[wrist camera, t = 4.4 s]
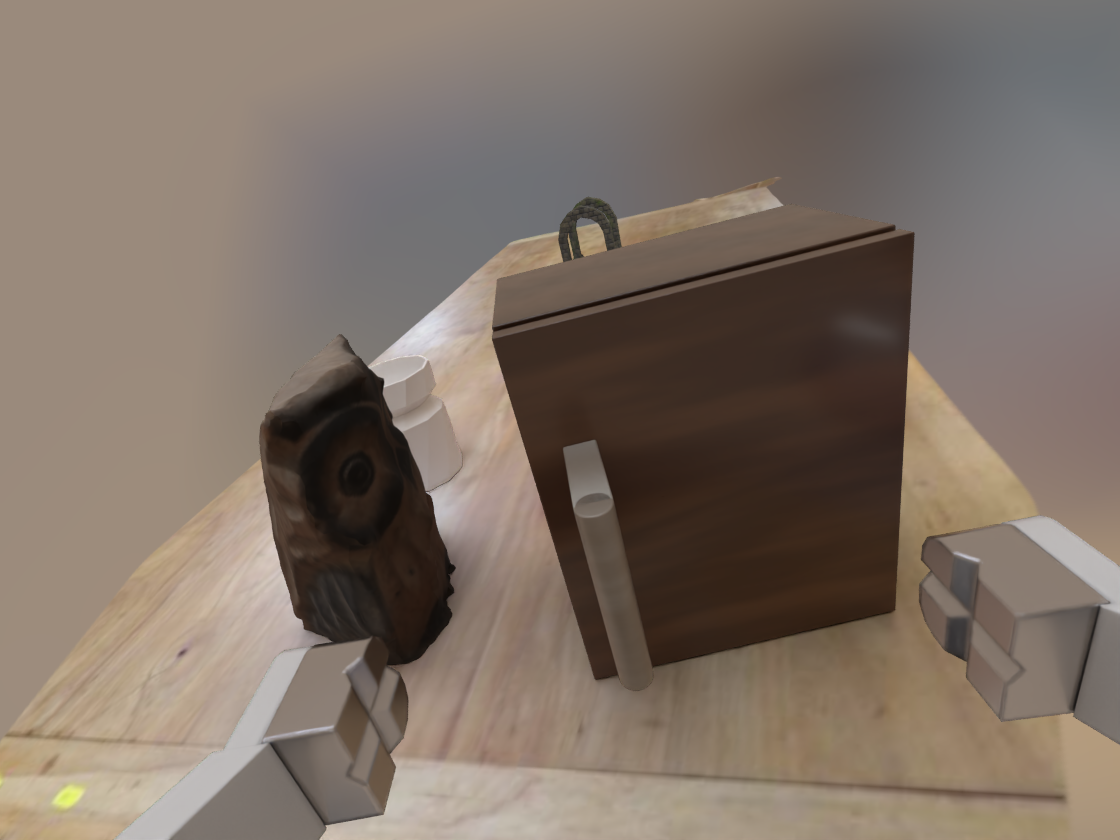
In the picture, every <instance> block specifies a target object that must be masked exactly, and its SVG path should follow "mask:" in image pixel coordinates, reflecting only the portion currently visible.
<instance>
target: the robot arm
mask: <svg viewBox="0 0 1120 840" xmlns="http://www.w3.org/2000/svg"><path fill="white" fill-rule="evenodd" d="M921 560H922V561H923V562H924V563H925V565H926V566H927V567H928V568H929V569H930V572H929V573H928V574H927V575H926V576H925V578H924V579H923V580H922V581H921V582H920V584H919V603H920V606H921V610H922V613H923V616H924V620H925V622H926V624H927V626H928V628H929V629H930V631H931V633H932V635H933V636H934V638H935V639H936V640H937V641H938V643H939V644H940V645H941V647H942V648H943V649H944V650H945V651H947V652H948V653H950V654H952V655H954V656H956V657H958V658H960V659H962V660H964V661H966V662H967V667H966V678H967V680H968V681H969V682H970V683H971V684H972V686H973V687H974V688H975V689H976V691H977V692H978V693H979V694H980V696H981V697H982V698H983V699H984V701H985V702H986V703H987V704H988V706H989V707H990V708H991V709H992V711H993V712H994V713H995V714H996V716H997V717H998V718H999V719H1000V721H1001V722H1003V721H1011V720H1019V719H1028V718H1036V717H1044V716H1052V715H1060V714H1068V713H1074V716H1073V717H1075V718H1076V719H1078V720H1080V721H1081V722H1083V723H1085V724H1086V725H1088V726H1090V727H1091V728H1093V729H1095V730H1096V731H1098V732H1100V733H1101V734H1103V735H1105V736H1106V737H1108V738H1109V739H1111V740H1113V741H1114V742H1116V743H1118V744H1120V566H1119V565H1117V564H1116V563H1114V562H1113V561H1112V560H1110V559H1108V558H1107V557H1106V556H1104V555H1103V554H1102V553H1100V552H1099V551H1098V550H1096V549H1095V548H1093V547H1092V546H1091V545H1089V544H1088V543H1086V542H1085V541H1084V540H1082V539H1081V538H1079V537H1078V536H1076V535H1075V534H1074V533H1072V532H1071V531H1070V530H1068V529H1067V528H1065V527H1064V526H1062V525H1061V524H1059V523H1058V522H1057V521H1056V520H1054V519H1051V518H1049V517H1045V516H1042V515H1039V516H1034V517H1028V518H1023V519H1018V520H1013V521H1008V522H1003V523H1001V524H994V525H989V526H984V527H978V528H973V529H967V530H962V531H957V532H951V533H946V534H941V535H935V536H930V537H927V538H926V540H925V542H924V543H923V545H922V554H921ZM389 654H390V652H389V650H388V648H387V646H386V645H385V643H384V641H383V639H382V638H381V637H376V636H371V637H364V638H357V639H351V640H344V641H338V642H331V643H325V644H318V645H314V646H311V647H304V648H297V649H290V650H284V651H283V652H282V653H280V654H279V655H278V656H276V657H275V658H274V660H273V662H272V664H271V665H270V667H269V669H268V671H267V672H266V674H265V676H264V678H263V680H262V681H261V683H260V685H259V687H258V688H257V690H256V692H255V694H254V696H253V697H252V699H251V701H250V703H249V704H248V706H247V708H246V710H245V712H244V713H243V715H242V717H241V719H240V720H239V722H238V724H237V726H236V728H235V729H234V731H233V733H232V735H231V736H230V738H229V740H228V742H227V743H226V745H225V747H224V749H223V750H221V751H216V752H212V753H211V754H210V755H209V756H207V757H206V758H205V759H204V760H203V761H202V762H201V763H199V764H198V765H197V766H196V767H195V768H194V769H193V770H192V771H190V772H189V773H188V774H187V775H186V776H185V777H184V778H182V779H181V780H180V781H179V782H178V783H177V784H176V785H175V786H173V787H172V788H171V789H170V790H169V791H168V792H167V793H165V794H164V795H163V796H162V797H161V798H160V799H159V800H158V801H156V802H155V803H154V804H153V805H152V806H151V807H150V808H148V809H147V810H146V811H145V812H144V813H143V814H142V815H140V816H139V817H138V818H137V819H136V820H135V821H134V822H133V823H131V824H130V825H129V826H128V827H127V828H126V829H125V830H123V831H122V832H121V833H120V834H119V835H118V836H117V837H116V838H114V839H113V840H319V839H320V837H321V836H322V835H323V833H324V832H325V831H326V826H325V825H330V824H336V823H341V822H346V821H352V820H357V819H363V818H368V817H374V816H379V815H384V811H385V807H386V804H387V800H388V796H389V792H390V788H391V784H392V781H393V777H394V773H395V769H396V766H395V764H394V762H393V760H392V758H391V756H390V753H391V752H392V751H393V750H394V749H395V747H396V746H397V745H398V744H399V743H400V742H401V740H402V739H403V738H404V734H405V730H406V726H407V721H408V695H407V691H406V686H405V683H404V681H403V679H402V677H401V675H400V673H399V672H397V671H396V670H394V669H392V668H391V667H389V666H387V665H386V664H387V660H388V657H389Z"/></svg>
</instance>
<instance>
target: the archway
mask: <svg viewBox="0 0 1120 840" xmlns="http://www.w3.org/2000/svg"><path fill="white" fill-rule="evenodd" d="M597 209H598V210H597ZM599 210H600V211H602V212H603V213H604V214H605V215H606V217H607V219H608V220H609V222H608V220H607V219H606V217H605V215H604V214H603V213H602V212H600V211H599ZM581 217H582V218H588V219H592V220H594V221H595V222H597V223H598V224H599V225H600V227H601V229H602V230H603V233H604V238H605V243H606V247H607V251H609V250H613V249H617V248H621V247H622V246H621V241H620V235H619V229H618V223H617V217H616V215H615V214H614V212H613V210H612V209H611V207H610V205H609V204H608V203H606V202H604V201H603V200H601V199H598V198H591V197H586V198H585V199H583V200H582V201H581V202H579V203H577V204H576V206H575V207H574V209H573V210H572V211H570V212H569V213H568V214H567V215H566V217H565V218H564V220H563V221H562V223H561V224H560V231H559V239H558V241H559V245H560V249H561V254H562V258H563V262H566V261H570V260H572V258H571V253H570V248H569V243H568V239H567V238H568V233H569V238H570V242H571V247H572V251H573V256H574V259H578V258H582V257H584V256H583V255H582V254H581V251H580V246H579V241H578V236H577V231H576V222H577V220H578V219H579V218H581ZM574 259H573V260H574Z"/></svg>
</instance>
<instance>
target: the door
mask: <svg viewBox="0 0 1120 840" xmlns="http://www.w3.org/2000/svg"><path fill="white" fill-rule="evenodd" d="M913 251H914V232H911V231H906V230H901V229H898V230H894V231H890V232H886V233H883V234H879V235H875V236H871V237H867V238H863V239H859V240H855V241H851V242H847V243H843V244H839V245H835V246H831V247H827V248H823V249H819V250H815V251H811V252H807V253H803V254H799V255H795V256H792V257H788V258H784V259H780V260H776V261H772V262H768V263H764V264H760V265H756V266H752V267H748V268H744V269H740V270H736V271H732V272H728V273H724V274H720V275H716V276H712V277H708V278H704V279H700V280H697V281H693V282H689V283H685V284H681V285H677V286H673V287H669V288H665V289H661V290H657V291H653V292H649V293H645V294H641V295H637V296H633V297H629V298H625V299H621V300H617V301H613V302H609V303H606V304H602V305H598V306H594V307H590V308H586V309H582V310H578V311H574V312H570V313H566V314H562V315H558V316H554V317H550V318H546V319H542V320H538V321H534V322H530V323H526V324H522V325H518V326H515V327H511V328H507V329H503V330H499V331H495V332H493V335H492V341H493V344H494V348H495V351H496V354H497V358H498V361H499V364H500V367H501V371H502V374H503V377H504V381H505V384H506V387H507V391H508V394H509V397H510V400H511V404H512V407H513V410H514V414H515V417H516V420H517V424H518V427H519V430H520V433H521V437H522V440H523V443H524V447H525V450H526V453H527V457H528V460H529V463H530V467H531V470H532V473H533V476H534V480H535V483H536V486H537V490H538V493H539V496H540V500H541V503H542V506H543V509H544V513H545V516H546V519H547V523H548V526H549V529H550V533H551V536H552V539H553V542H554V546H555V549H556V552H557V556H558V559H559V562H560V566H561V569H562V572H563V575H564V579H565V582H566V585H567V589H568V592H569V595H570V599H571V602H572V605H573V609H574V612H575V615H576V618H577V622H578V625H579V628H580V632H581V635H582V638H583V642H584V645H585V648H586V651H587V655H588V658H589V661H590V665H591V668H592V671H593V675H594V678H595V679H599V678H604V677H608V676H612V675H617V674H618V675H619V679H620V682H621V684H622V685H623V686H624V687H625V688H627V689H629V690H632V691H640V690H643V689H645V688H647V687H648V686H649V685H650V684H651V682H652V680H653V676H654V673H653V668H652V666H656V665H660V664H664V663H669V662H673V661H677V660H682V659H686V658H690V657H694V656H699V655H703V654H707V653H712V652H716V651H720V650H725V649H729V648H733V647H738V646H742V645H746V644H751V643H755V642H759V641H764V640H768V639H772V638H777V637H781V636H785V635H790V634H794V633H798V632H803V631H807V630H811V629H816V628H820V627H824V626H828V625H833V624H837V623H841V622H846V621H850V620H854V619H859V618H863V617H867V616H872V615H876V614H880V613H885V612H889V611H893V610H895V602H896V583H897V563H898V544H899V524H900V505H901V486H902V466H903V447H904V427H905V408H906V388H907V369H908V350H909V330H910V311H911V291H912V272H913V253H914V252H913Z"/></svg>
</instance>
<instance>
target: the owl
mask: <svg viewBox="0 0 1120 840" xmlns="http://www.w3.org/2000/svg"><path fill="white" fill-rule="evenodd" d="M383 388H384V378H381V377H378V376H377V375H376V374H375V373H374V372H373V371H372V370H371V369H369V368H368V367H367V366H366V365H365V364H364V362H363V361H362V359H361V358H359V357H358V356H357V355H356V354H355V353H354V351H353V350H352V348H351V347H350V345H349V343H348V340H347V339H346V338H345V337H344V336H343V335H338V336H337V337H336V338H335V339H333V340H332V341H331V342H330V343H329V344H328V345H327V346H326V347H325V348H324V349H323V350H322V351H321V352H320V353H319V354H317V355H316V356H315V357H314V358H312V359H310V360H309V361H308V362H307V363H306V364H305V365H303V366H302V367H301V368H300V369H298V370H297V371H296V372H294V374H293V375H292V377H291V378H290V380H289V381H288V382H287V383H285V384H284V385H283V386H282V387H281V389H280V390H279V391H278V392H277V393H276V395H275V396H274V399H273V401H272V404H271V406H270V409H269V411H268V413H266V415H265V419H264V420H263V421H262V423H261V427H260V436H259V443H260V454H261V462H262V469H263V477H264V483H265V486H266V493H267V497H268V502H269V511H270V517H271V521H272V530H273V537H274V541H275V545H276V549H277V552H278V556H279V560H280V566H281V569H282V572H283V574H284V577H285V580H286V584H287V587H288V590H289V593H290V598H291V601H292V605H293V611H294V614H295V615H296V617H297V618H299V619H301V620H303V625H304V629H305V630H309V631H313V632H315V633H316V634H320V635H322V636H325V637H327V638H329V639H330V640H331V641H333V642H338V641H344V640H351V639H357V638H364V637H371V636H376V637H381V638H382V639H383V641H384V643H385V645H386V646H387V648H388V650H389V652H390V654H389V657H388V660H387V664H386V665H395V664H406V663H409V662H412V661H414V660H416V659H418V658H419V657H421V656H422V654H423V653H424V652H425V651H426V649H427V648H428V646H429V645H430V644H432V643H433V642H434V641H435V640H436V638H437V636H438V635H439V634H440V632H441V631H442V630H443V628H444V627H445V626H447V625H448V623H449V620H450V618H451V617H452V612H451V609H450V608H449V607H448V605H447V601H446V599H447V597H448V596H450V595H451V594H452V593H454V588H453V587H452V585H451V584H450V576H449V575H448V574H451V573H452V572H453V571H454V570H455V566H454V565H452V564H451V563H450V561H449V558H448V554H447V550H446V548H445V545H444V543H443V541H442V539H441V537H440V534H439V531H438V528H437V525H436V520H435V515H434V506H433V502H432V498H431V496H430V495H428V494H427V493H426V491H425V487H424V483H423V479H422V476H421V473H420V470H419V468H418V466H417V464H416V462H415V459H414V457H413V455H412V453H411V450H410V447H409V444H408V441H407V439H406V438H405V436H404V434H403V433H402V432H401V431H400V430H399V429H398V428H397V427H395V426H394V425H393V421H392V419H393V415H392V413H391V411H390V410H389V408H388V406H387V403H386V401H385V398H384V396H383Z"/></svg>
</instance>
